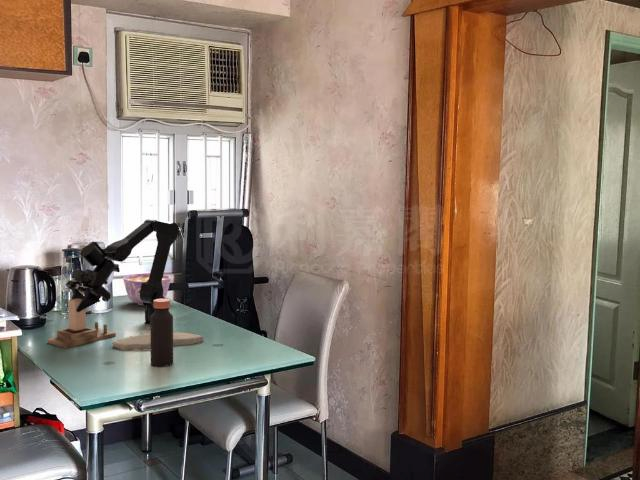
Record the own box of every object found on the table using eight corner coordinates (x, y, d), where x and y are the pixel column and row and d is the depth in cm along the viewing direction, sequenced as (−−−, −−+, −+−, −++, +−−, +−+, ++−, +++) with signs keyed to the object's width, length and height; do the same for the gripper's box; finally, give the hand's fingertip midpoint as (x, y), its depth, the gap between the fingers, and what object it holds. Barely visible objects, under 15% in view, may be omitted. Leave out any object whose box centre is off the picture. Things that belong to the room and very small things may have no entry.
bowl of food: (136, 310, 276) (136, 283, 275) (115, 302, 291) (115, 276, 290) (179, 304, 289) (179, 278, 288) (157, 297, 304) (157, 271, 303)
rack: (98, 331, 243) (98, 320, 242) (115, 336, 237) (115, 324, 237) (47, 342, 227) (47, 330, 226) (65, 348, 221) (64, 335, 220)
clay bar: (79, 326, 233) (78, 298, 231) (86, 328, 230) (85, 299, 229) (68, 328, 229) (68, 300, 228) (75, 330, 227) (75, 301, 226)
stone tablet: (206, 343, 232) (206, 336, 232) (119, 354, 217) (118, 347, 216) (189, 333, 246) (189, 326, 246) (106, 342, 231) (106, 335, 230)
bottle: (147, 362, 207) (146, 299, 205) (167, 359, 211) (167, 296, 209) (156, 368, 202) (155, 303, 199) (177, 364, 206) (176, 300, 204)
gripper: (69, 257, 236) (41, 292, 228) (102, 263, 225) (74, 300, 217) (89, 276, 243) (63, 311, 235) (122, 282, 232) (95, 319, 225)
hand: (73, 310), depth 228 cm, fingers closed on clay bar, 4 cm apart
